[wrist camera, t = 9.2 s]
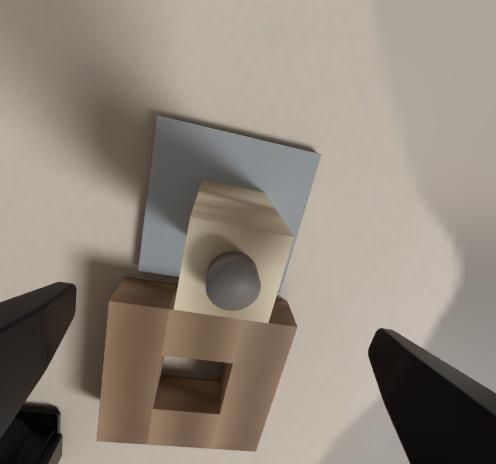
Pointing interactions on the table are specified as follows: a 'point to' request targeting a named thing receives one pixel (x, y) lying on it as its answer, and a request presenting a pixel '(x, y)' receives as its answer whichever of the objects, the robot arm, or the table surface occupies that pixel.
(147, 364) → the socket block
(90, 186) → the table surface
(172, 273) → the mat
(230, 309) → the plug
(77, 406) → the table surface
